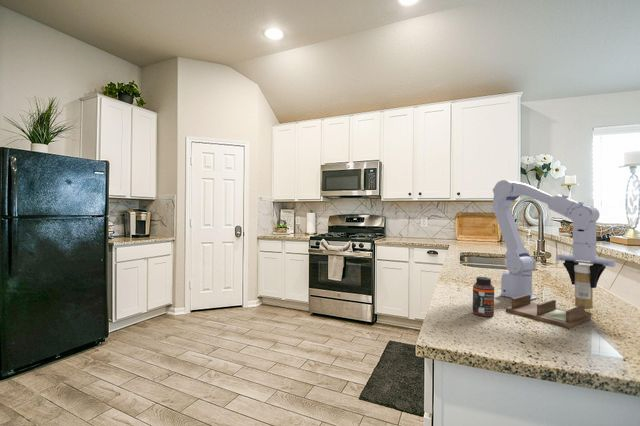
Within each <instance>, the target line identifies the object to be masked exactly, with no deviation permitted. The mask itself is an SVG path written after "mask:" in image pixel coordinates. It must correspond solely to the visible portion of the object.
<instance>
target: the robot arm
mask: <svg viewBox="0 0 640 426" xmlns="http://www.w3.org/2000/svg"><path fill="white" fill-rule="evenodd" d="M492 193H493V198H492V199H493V200H492V208H493V211H494V214H495V218H496V220H497V223H498V224H497V225H498V226H499V230H500V231H501V234H502V235H501V236H502V237H503V241H504V243H505V247H506V252H505V253H504V256H505V267H506V269H507V271H504V272H503V273H502V275H501V278H500V280H501V281H500V283H501V285H500V294H499V295H500V296H503V297H507V298H511V299H512V298H515V297H519V296H523V295H527V294H529V295H530V301H532V300H535V299H538V296H535V295H533V270H535V269H536V266H537V263H536V260H535V258H534V257H533V256H532V255H531V253H530V251H529V249H527V247H525V246H524V243H523V240H522V238H521V236H520V233H519V229H518V227H517V224H516V221H515V219H514V215H513V214H512V210H511V206H512V205H513V203H514V202H515V201H516V200H518V198H519V197H521V196H526V197H529V198H531V199H533V200H536V201H539V202H541V203H544V204H545V205H547V207H548V209H549V210H551V211H552V212H554V213H557V214H559V215H561V216H564V217H566V218H568V219H570V221H571V222H572V254H560V253H559V254H557V253H556V255H555V256H556V257H555V260H556V261H561V262H563V266H564V269H566V271H567V273H568V276H569V279H570V281H571V285H573V286H575V271H574V266H575V265H580V264H579V263H581V264H586V265H589V266H590V272H591V288H592V289H596V288H597V285H598V282H599V280H600V277H601V276H602V274H603V272H604V271H605V269H606V268H607V267H610V268H614V267H616V259H608V258H600V257H597V221H598V220H599V218H600V212H599V210H598V209H597V208H596V207H594V206H593V205H585V204H584V202H583V201H576V200H574V199H572V198H570V197H569V195H567V194H555V195H551V194H549V193H548V192H545V191H543V190H541V189H539V188H537V187H535V186H532V185H530V184H528V183H525V182H520V181H517V180H516V181H515V180H507V179H506V180H505V179H502V180H500V181H497V182H496V184H495V185H494V187H493V189H492Z"/></svg>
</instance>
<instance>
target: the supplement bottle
mask: <svg viewBox="0 0 640 426" xmlns="http://www.w3.org/2000/svg"><path fill="white" fill-rule="evenodd" d="M472 313H473V314H474V315H477V316H480V317H485V318H486V317H490V318H491V317H493V316H494V313H495V287H494V286H493V284H492V279H491V278H490V277H486V276H477V277H476V282H475V283H474V284H473V286H472Z"/></svg>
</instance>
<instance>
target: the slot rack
mask: <svg viewBox="0 0 640 426" xmlns="http://www.w3.org/2000/svg"><path fill="white" fill-rule="evenodd" d="M556 304H557V300H556V299H550V300H547V301H542V302H540V303H536V302H532V301H531V300H530V295H529V294H527V295H523V296H519V297H515V298H511V306H507V307H506V308H505V312H506V313H507V312H508V313H510V314H515V315H519V316H522V317H527V318H529V319H530V318H531V319H534V320H537V321H540V322H544V323H547V324H548V323H549V324H553V325H557V326H559V327H563V328H567V329H571V328H574V327H576V326H578V325H581V324H584V323H585V322H587V321H588V322H589V321H591V320H592V319H591V318H592V316H591V315H587V314H585V313H586V312H585V310H586V309H585V306H578V307H576V306H575V307H573V308H571V309H567V310H566V309H563V308H559V307H556V306H557V305H556Z"/></svg>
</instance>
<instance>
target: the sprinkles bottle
mask: <svg viewBox="0 0 640 426" xmlns="http://www.w3.org/2000/svg"><path fill="white" fill-rule="evenodd" d="M574 271H575V285H574V307H575V308H576V307H578V306H585V310H592V309H594V306H593V303H594V302H593V298H594V292H593V291H594V288H591V272H590V264H578V265H575V266H574Z"/></svg>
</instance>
